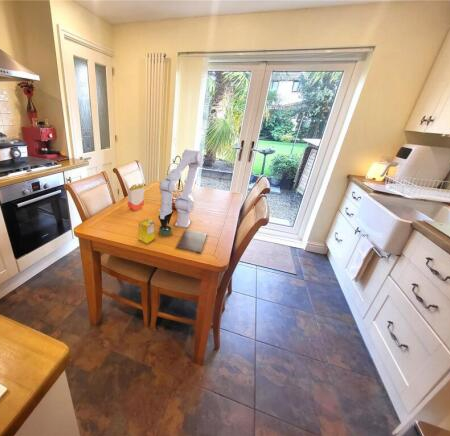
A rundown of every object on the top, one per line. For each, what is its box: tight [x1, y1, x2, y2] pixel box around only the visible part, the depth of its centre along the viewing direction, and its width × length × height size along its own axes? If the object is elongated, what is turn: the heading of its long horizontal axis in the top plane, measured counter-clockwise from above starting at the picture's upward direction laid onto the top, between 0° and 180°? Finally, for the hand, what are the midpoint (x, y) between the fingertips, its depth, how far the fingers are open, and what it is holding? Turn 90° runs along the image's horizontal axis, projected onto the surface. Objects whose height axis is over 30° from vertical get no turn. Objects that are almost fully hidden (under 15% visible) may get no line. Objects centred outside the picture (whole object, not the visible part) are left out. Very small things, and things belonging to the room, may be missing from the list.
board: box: [176, 229, 208, 255], centre depth 124 cm, size 20×12×1 cm, turn 162°
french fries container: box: [127, 183, 145, 211], centre depth 158 cm, size 5×11×18 cm, turn 137°
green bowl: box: [158, 225, 173, 238], centre depth 129 cm, size 7×7×4 cm
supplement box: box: [138, 218, 156, 245], centre depth 121 cm, size 6×6×11 cm
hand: (165, 225), depth 128 cm, fingers open, 5 cm apart
